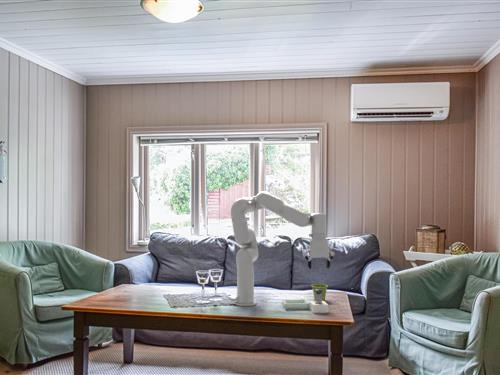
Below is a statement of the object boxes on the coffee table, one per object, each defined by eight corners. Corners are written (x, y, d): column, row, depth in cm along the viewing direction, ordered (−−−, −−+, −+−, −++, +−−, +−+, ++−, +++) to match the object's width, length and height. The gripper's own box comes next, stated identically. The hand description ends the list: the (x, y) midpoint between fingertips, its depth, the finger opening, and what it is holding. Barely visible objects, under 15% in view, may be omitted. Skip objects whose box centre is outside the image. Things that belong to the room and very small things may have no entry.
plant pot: (327, 302, 232) (327, 287, 233) (311, 301, 234) (311, 286, 234) (327, 298, 241) (327, 284, 242) (311, 298, 243) (311, 283, 244)
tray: (285, 309, 217) (285, 304, 217) (282, 304, 227) (282, 299, 227) (309, 309, 218) (309, 303, 218) (305, 304, 228) (305, 299, 228)
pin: (315, 311, 213) (315, 290, 214) (314, 309, 217) (313, 289, 218) (323, 311, 213) (323, 290, 214) (321, 309, 218) (321, 288, 218)
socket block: (313, 312, 211) (313, 305, 211) (309, 308, 219) (309, 301, 219) (328, 312, 212) (328, 304, 212) (324, 308, 220) (324, 301, 220)
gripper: (304, 236, 213) (304, 269, 212) (336, 236, 214) (336, 269, 213) (301, 235, 220) (301, 267, 219) (332, 235, 221) (332, 266, 221)
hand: (318, 268), depth 216 cm, fingers open, 9 cm apart
